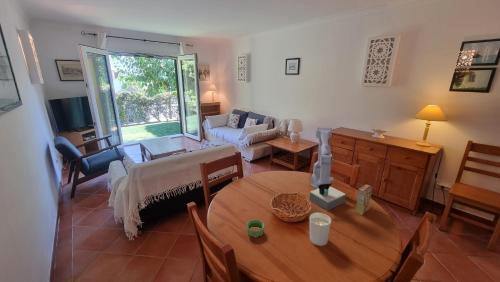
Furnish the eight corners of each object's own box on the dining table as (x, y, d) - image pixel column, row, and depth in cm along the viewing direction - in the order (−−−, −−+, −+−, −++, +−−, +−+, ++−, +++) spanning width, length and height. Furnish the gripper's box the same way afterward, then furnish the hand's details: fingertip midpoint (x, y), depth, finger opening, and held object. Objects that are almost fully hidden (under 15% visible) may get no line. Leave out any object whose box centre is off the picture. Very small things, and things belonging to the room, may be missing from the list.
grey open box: (309, 199, 139) (310, 193, 137) (326, 193, 146) (327, 186, 145) (327, 210, 127) (327, 203, 126) (344, 202, 135) (345, 195, 133)
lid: (310, 192, 137) (310, 186, 136) (327, 186, 145) (327, 180, 144) (328, 202, 126) (328, 196, 124) (345, 195, 133) (346, 188, 132)
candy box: (361, 206, 131) (365, 183, 126) (369, 209, 127) (372, 186, 123) (354, 212, 125) (358, 188, 121) (362, 215, 122) (365, 191, 118)
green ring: (248, 239, 106) (248, 232, 105) (245, 227, 114) (245, 220, 113) (266, 237, 107) (266, 229, 106) (261, 225, 116) (261, 218, 115)
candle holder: (326, 250, 98) (328, 228, 95) (305, 242, 103) (306, 220, 100) (331, 237, 106) (333, 216, 103) (311, 230, 111) (312, 210, 108)
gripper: (322, 179, 122) (320, 200, 126) (338, 173, 129) (336, 193, 133) (312, 174, 128) (311, 194, 132) (329, 169, 135) (327, 188, 139)
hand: (323, 193), depth 133 cm, fingers closed on lid, 2 cm apart
